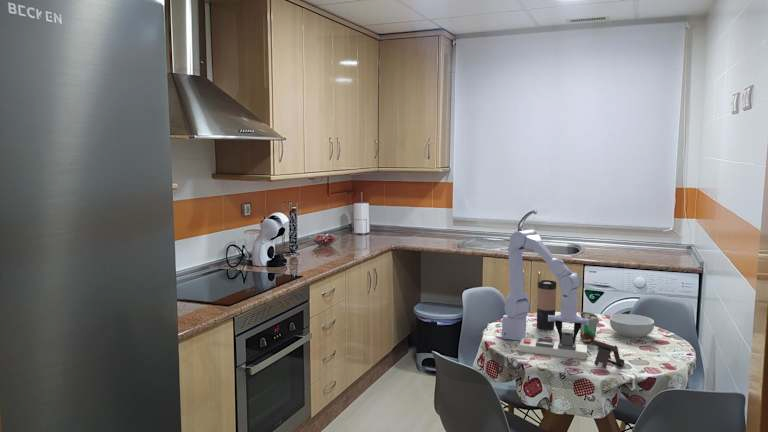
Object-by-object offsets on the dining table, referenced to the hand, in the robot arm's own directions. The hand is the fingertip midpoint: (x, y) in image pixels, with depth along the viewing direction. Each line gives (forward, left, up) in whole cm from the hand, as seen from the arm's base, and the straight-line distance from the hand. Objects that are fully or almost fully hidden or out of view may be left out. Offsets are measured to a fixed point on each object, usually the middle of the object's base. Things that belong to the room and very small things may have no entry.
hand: (567, 341), depth 222 cm
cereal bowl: (+24, +32, -5) cm, 40 cm away
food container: (+8, +19, -5) cm, 21 cm away
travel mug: (-10, +30, -5) cm, 32 cm away
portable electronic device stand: (+14, -7, -5) cm, 16 cm away
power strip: (-5, 0, -4) cm, 7 cm away
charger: (0, 0, -2) cm, 2 cm away
